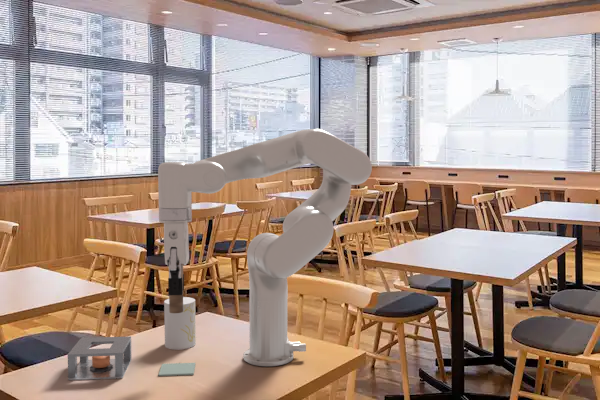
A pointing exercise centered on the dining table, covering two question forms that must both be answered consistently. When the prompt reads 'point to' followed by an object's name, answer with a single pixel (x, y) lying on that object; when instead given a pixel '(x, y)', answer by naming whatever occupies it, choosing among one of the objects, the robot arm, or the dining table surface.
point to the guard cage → (82, 350)
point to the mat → (177, 369)
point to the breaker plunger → (100, 361)
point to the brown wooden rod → (176, 299)
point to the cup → (180, 325)
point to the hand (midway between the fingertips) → (176, 292)
